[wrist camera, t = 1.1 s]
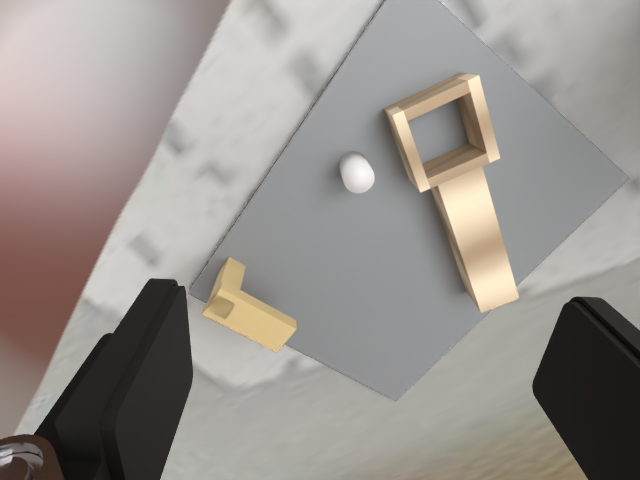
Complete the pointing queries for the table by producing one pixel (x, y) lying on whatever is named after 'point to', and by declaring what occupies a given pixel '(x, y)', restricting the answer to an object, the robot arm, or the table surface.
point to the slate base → (395, 207)
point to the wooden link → (461, 186)
